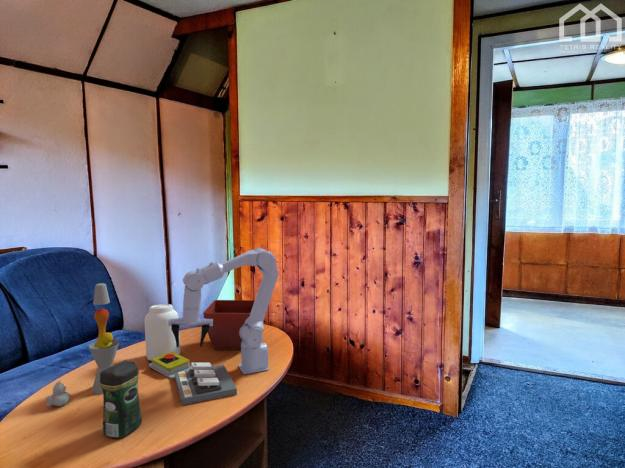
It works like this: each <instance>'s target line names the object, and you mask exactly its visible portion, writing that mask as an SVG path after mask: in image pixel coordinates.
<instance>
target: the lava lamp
mask: <svg viewBox="0 0 625 468" xmlns="http://www.w3.org/2000/svg"><path fill="white" fill-rule="evenodd" d="M93 295H94V296H93V301H92V302H93V303H92V304H93V305H94V306H101V305H107V304H110V303H111V301H110V296H109V292H108V288H107V284H106V283H97V284H95V285H94V294H93ZM109 316H110V313H109V311H108V310H107V309H105V308H98V309H97V310H95V312H94V314H93V317H94V319H95V323H96V324H97V326H98V336H97V339H96V341H94V342H92V343H89V345H88V349H89V352H90V353H91V355H92V358H93V360H94V362H95V363H96V366H97V371H96V374H95V378H94V381H93V385H92V388H91V392H92V393H93V394H97V395H103V390H102V388H101V386H100V373H101V372H102V371H103V370H105V369H107V368H109V367H111V366H113V365H114V361H115V357H116V354H117V351H118V348H119V345H120V340H118V339H115V338H114V336H113V334H112V333H111V332H110V331H109V332H106V329H107V327H106V326H107V322H108V319H109Z"/></svg>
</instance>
